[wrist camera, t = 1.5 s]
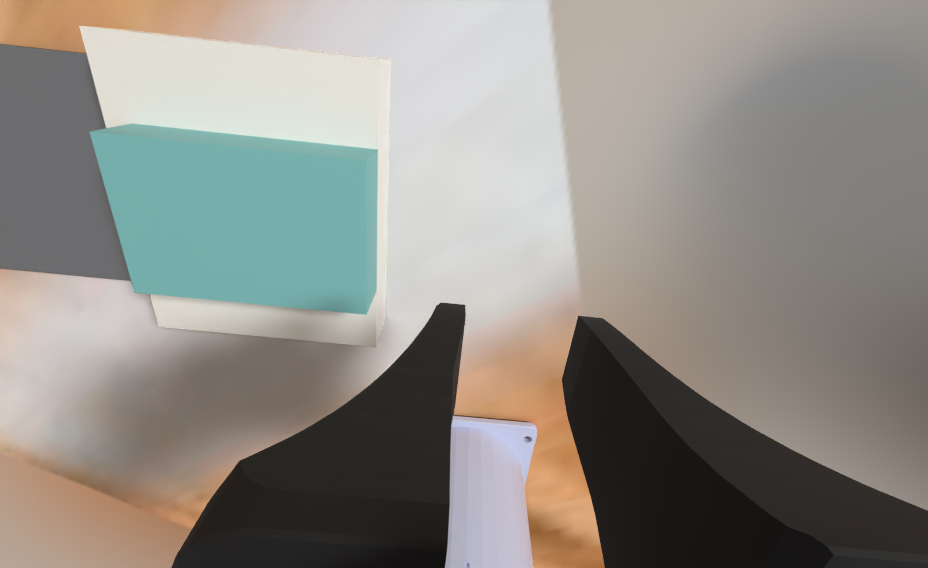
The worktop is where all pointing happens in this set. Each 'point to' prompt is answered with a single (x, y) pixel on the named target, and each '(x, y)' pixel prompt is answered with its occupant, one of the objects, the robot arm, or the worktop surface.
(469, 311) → the worktop surface
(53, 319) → the worktop surface
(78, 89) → the mat
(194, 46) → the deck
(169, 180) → the teal rectangular block
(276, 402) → the worktop surface
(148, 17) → the worktop surface
